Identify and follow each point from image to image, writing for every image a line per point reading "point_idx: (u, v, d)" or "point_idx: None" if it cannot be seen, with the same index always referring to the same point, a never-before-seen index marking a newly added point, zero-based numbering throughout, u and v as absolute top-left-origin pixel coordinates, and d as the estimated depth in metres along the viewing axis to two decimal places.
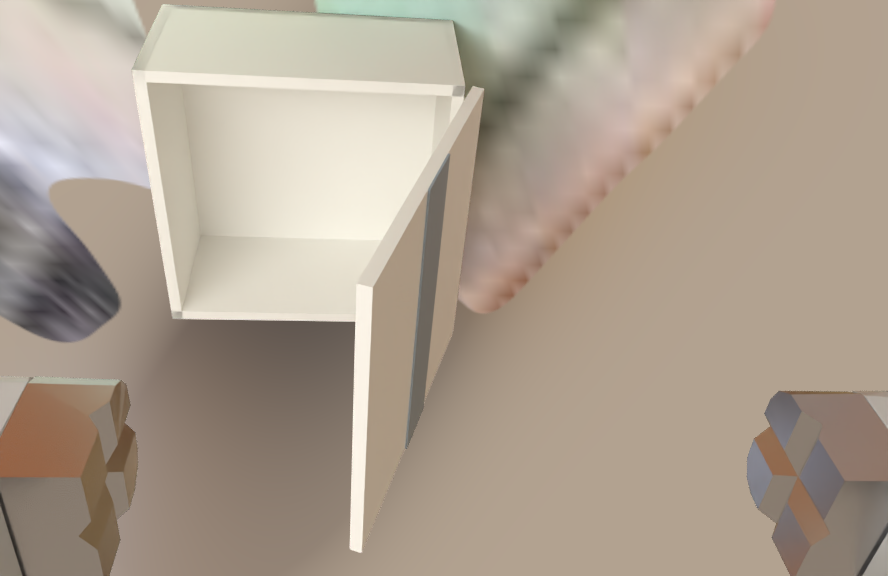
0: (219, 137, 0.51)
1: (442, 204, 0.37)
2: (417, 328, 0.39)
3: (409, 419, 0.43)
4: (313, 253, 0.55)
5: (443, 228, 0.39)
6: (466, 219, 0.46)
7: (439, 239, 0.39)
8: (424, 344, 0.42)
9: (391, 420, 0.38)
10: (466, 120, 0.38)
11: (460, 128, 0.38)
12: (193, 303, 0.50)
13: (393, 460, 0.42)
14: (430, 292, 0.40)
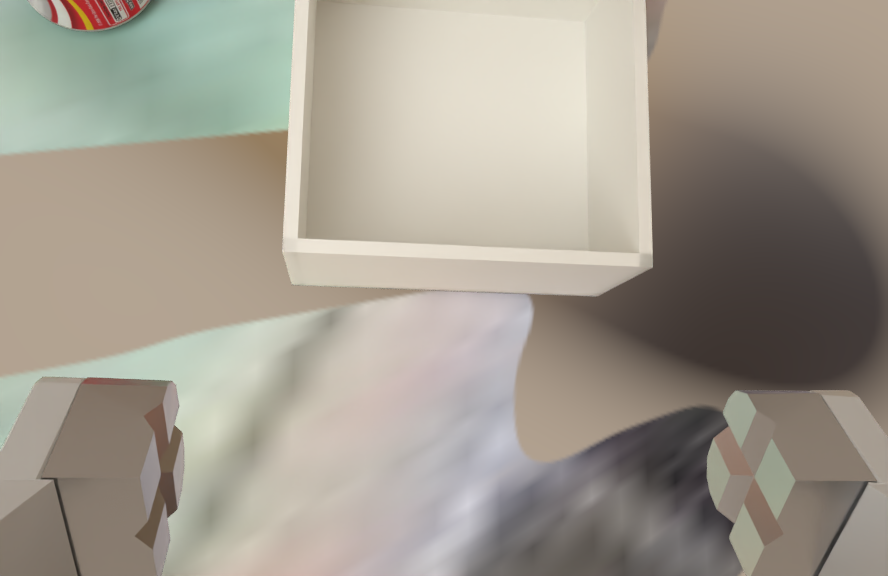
0: (448, 242, 0.43)
1: None
2: None
3: None
4: (596, 136, 0.44)
5: None
6: None
7: None
8: None
9: None
10: None
11: None
12: (633, 244, 0.37)
13: None
14: None
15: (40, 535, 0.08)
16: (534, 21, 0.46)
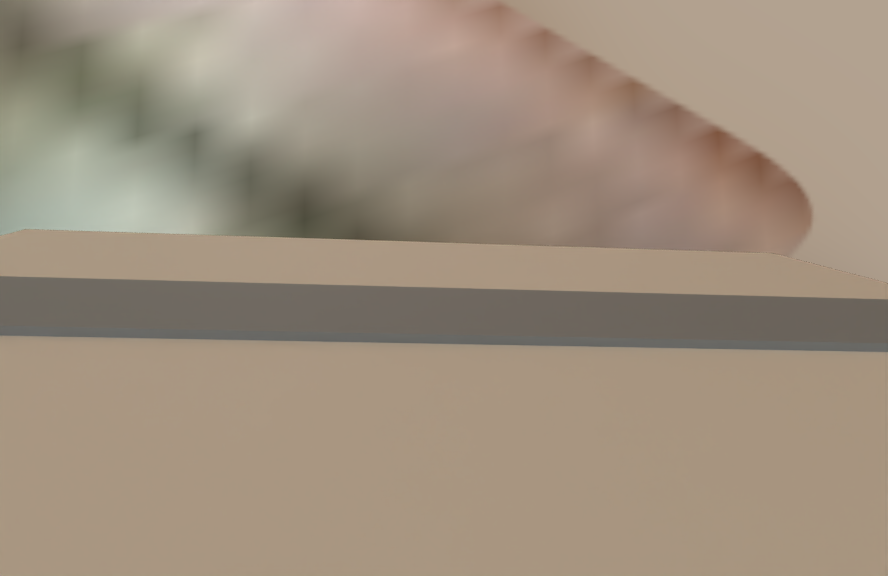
0: None
1: (1, 282, 0.11)
2: (438, 335, 0.09)
3: None
4: None
5: (192, 280, 0.12)
6: (393, 242, 0.18)
7: (166, 285, 0.11)
8: (621, 309, 0.11)
9: None
10: None
11: None
12: None
13: None
14: (365, 300, 0.11)
15: None
16: None
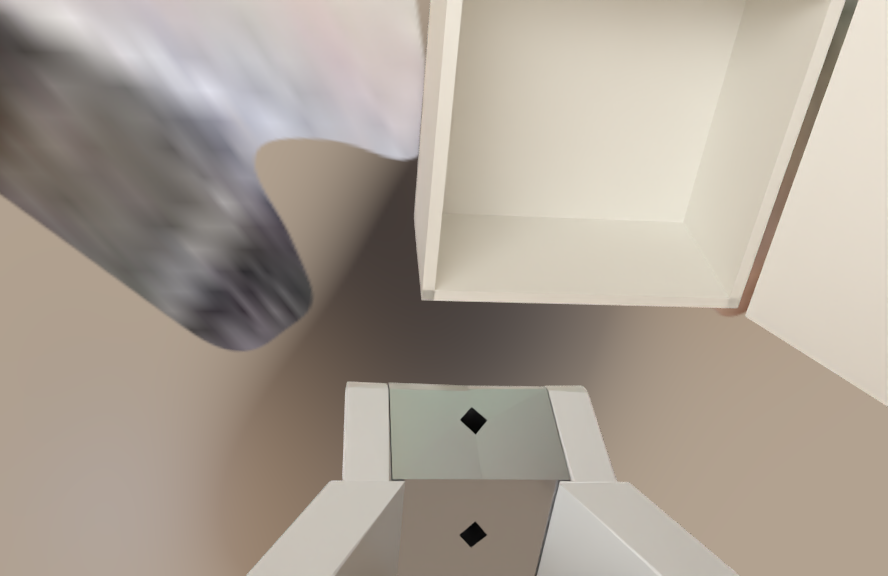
0: (473, 84, 0.42)
1: None
2: None
3: None
4: (564, 232, 0.46)
5: None
6: None
7: None
8: None
9: None
10: None
11: None
12: (445, 282, 0.41)
13: None
14: None
15: (389, 534, 0.09)
16: (692, 177, 0.46)
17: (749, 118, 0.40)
